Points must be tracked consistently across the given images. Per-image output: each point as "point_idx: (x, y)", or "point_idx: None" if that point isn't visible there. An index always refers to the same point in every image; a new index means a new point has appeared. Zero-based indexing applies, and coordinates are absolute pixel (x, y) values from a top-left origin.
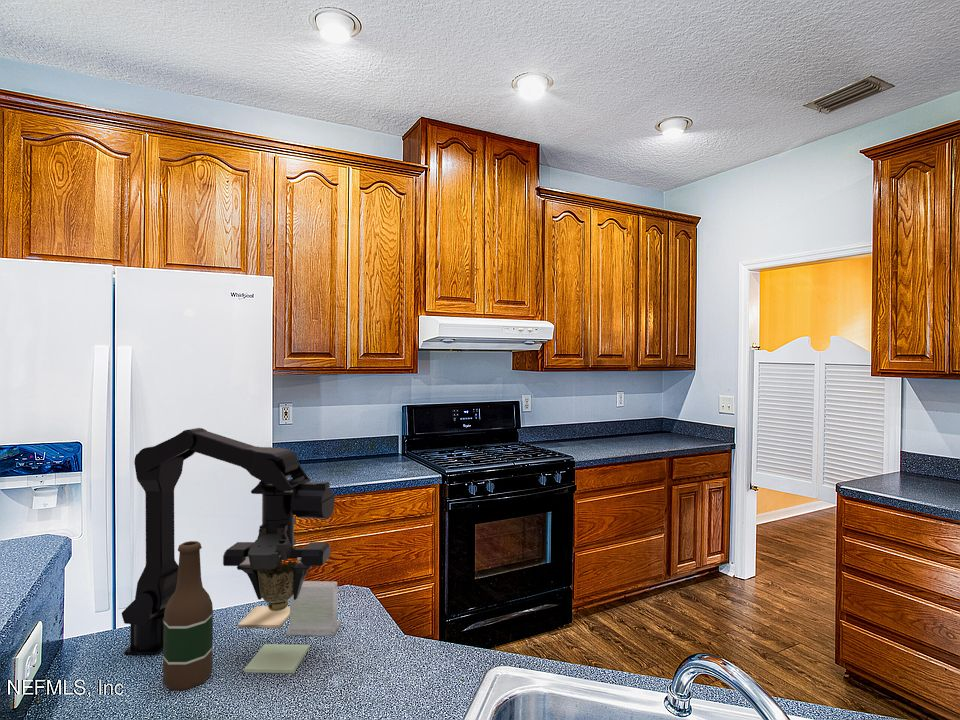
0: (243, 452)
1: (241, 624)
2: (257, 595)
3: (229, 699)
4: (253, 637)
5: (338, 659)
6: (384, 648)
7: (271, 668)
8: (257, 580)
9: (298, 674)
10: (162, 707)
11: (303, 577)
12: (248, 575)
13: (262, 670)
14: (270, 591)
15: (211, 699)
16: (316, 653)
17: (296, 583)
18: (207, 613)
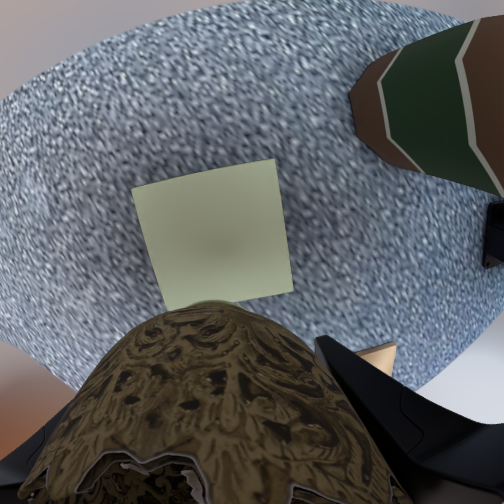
0: None
1: (389, 347)
2: (336, 345)
3: (232, 42)
4: (343, 318)
5: (75, 274)
6: (34, 327)
7: (195, 180)
8: (372, 423)
9: (119, 187)
10: (367, 10)
11: None
12: (465, 421)
13: (218, 168)
14: (170, 339)
15: (279, 35)
16: (137, 289)
17: (54, 428)
18: (485, 85)
